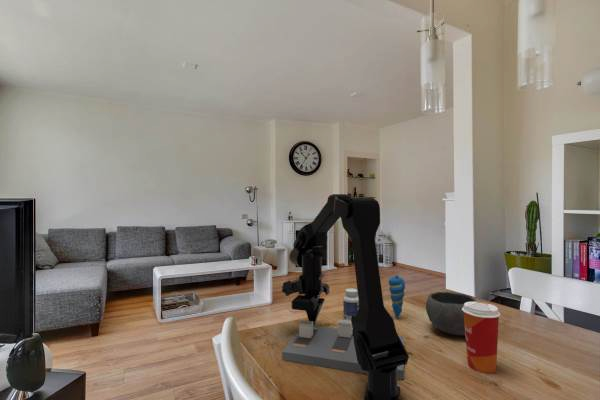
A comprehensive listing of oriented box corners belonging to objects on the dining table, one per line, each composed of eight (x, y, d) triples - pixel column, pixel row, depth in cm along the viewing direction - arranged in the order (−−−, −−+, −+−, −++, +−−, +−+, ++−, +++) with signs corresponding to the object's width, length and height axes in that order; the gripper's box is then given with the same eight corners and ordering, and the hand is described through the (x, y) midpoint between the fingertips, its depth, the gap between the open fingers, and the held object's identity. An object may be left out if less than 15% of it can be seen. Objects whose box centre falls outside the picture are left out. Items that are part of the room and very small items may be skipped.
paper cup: (466, 355, 76) (465, 298, 76) (503, 365, 71) (502, 305, 72) (459, 368, 70) (458, 307, 70) (499, 380, 65) (497, 314, 66)
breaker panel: (403, 380, 66) (403, 370, 66) (282, 359, 75) (282, 351, 75) (403, 343, 83) (403, 335, 83) (304, 331, 92) (304, 323, 92)
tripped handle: (310, 338, 81) (310, 324, 82) (299, 336, 83) (298, 323, 83) (313, 334, 84) (313, 321, 84) (301, 333, 85) (301, 320, 85)
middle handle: (350, 337, 82) (350, 324, 82) (338, 336, 83) (338, 322, 83) (352, 334, 84) (352, 320, 84) (340, 332, 85) (340, 319, 85)
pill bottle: (360, 323, 97) (359, 292, 97) (343, 322, 98) (342, 292, 98) (360, 317, 102) (360, 288, 102) (344, 316, 103) (343, 287, 104)
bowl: (490, 345, 82) (489, 307, 82) (429, 339, 86) (429, 303, 86) (474, 324, 96) (474, 292, 96) (423, 320, 100) (423, 289, 100)
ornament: (387, 319, 100) (386, 273, 101) (390, 314, 105) (390, 270, 105) (404, 322, 98) (403, 275, 98) (406, 317, 103) (406, 271, 103)
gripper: (296, 263, 100) (296, 312, 100) (273, 276, 82) (273, 334, 82) (329, 265, 97) (330, 315, 96) (313, 279, 79) (313, 340, 79)
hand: (312, 325), depth 88 cm, fingers closed
